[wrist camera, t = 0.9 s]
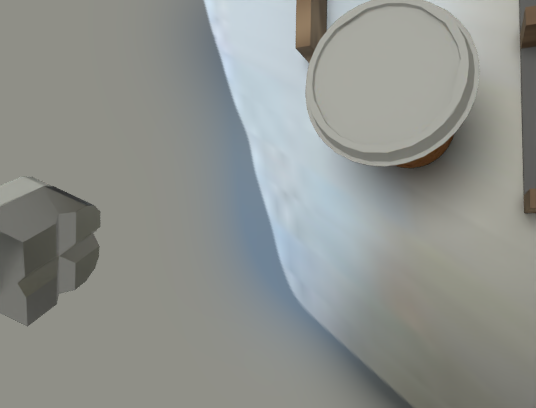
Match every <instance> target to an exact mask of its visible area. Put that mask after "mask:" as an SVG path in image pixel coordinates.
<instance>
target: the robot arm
mask: <svg viewBox="0 0 536 408" xmlns="http://www.w3.org/2000/svg"><path fill="white" fill-rule="evenodd" d="M99 227H100V211H99V210H98V209H97V208H96V206H94V205H92V204H90V203H88V202H86V201H84V200H81V199H80V198H77V197H75V196H73V195H71V194H69V193H67V192H65V191H63V190H60V189H58V188H56V187H54V186H51V185H49V184H46V183H45V182H42V181H40V180H38V179H36V178H34V177H26V176H22V177H20V178H17V179H15V180H13V181H10V182H8V183H5V184H3V185H1V186H0V313H1V314H3V315H5V316H7V317H9V318H11V319H13V320H15V321H17V322H19V323H21V324H24V325H26V326H29V325H30V324H31V323H33V322H34V321H35V320H37V319H38V318H39V317H41V316H42V315H43V314H44V313H46V312H47V311H48V310H50V309H51V308H52V307H54V306H55V305H56V304H57V300H58V296H59V293H64V292H68V291H73V290H75V289H77V288H78V287H79V286H80V285H82V284H83V283H84V282H85V281H86V280H87V279H88V277H89V276H90V274H91V273H92V271H93V270H94V269H95V266H96V263H97V260H98V257H99V244H98V242H97V240H96V238H95V236H94V234H93V233H94V232H95V231H96V230H97V229H98V228H99Z"/></svg>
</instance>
